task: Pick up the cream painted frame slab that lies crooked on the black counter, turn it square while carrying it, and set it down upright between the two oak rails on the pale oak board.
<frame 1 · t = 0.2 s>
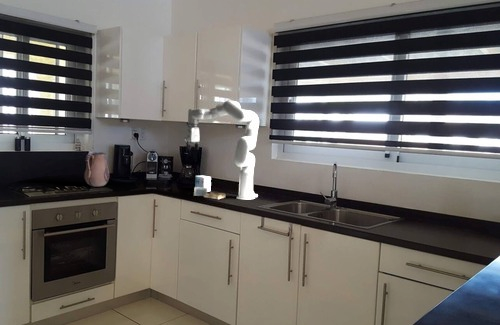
hand: (192, 149, 299), 31 cm above the worktop, tool pointing down, fingers open, 9 cm apart
oak board: (214, 197, 282), on the worktop
light bulb box: (202, 190, 307), on the worktop
ceramic pitcher: (95, 186, 308), on the worktop
frame slab: (200, 195, 287), on the worktop
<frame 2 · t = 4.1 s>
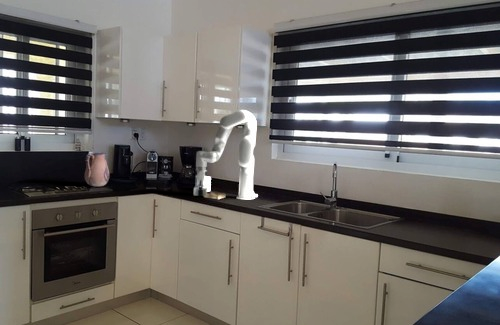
hand: (200, 194, 287), 0 cm above the worktop, tool pointing down, fingers closed on frame slab, 3 cm apart
frame slab: (200, 195, 287), on the worktop, touching gripper
everything else where it was.
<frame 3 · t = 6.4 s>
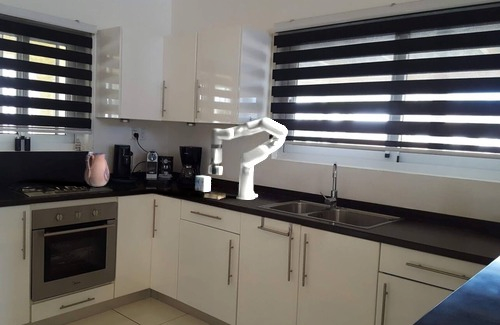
hand: (215, 173, 280), 16 cm above the worktop, tool pointing down, fingers closed on frame slab, 3 cm apart
frame slab: (215, 174, 280), point 16 cm above the worktop, touching gripper
everything else where it was.
when the fingers open (3 cm above the worktop, at t = 9.0 s): frame slab drops 1 cm, resting on oak board.
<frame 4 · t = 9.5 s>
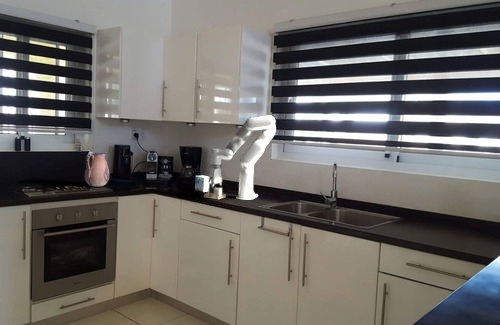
hand: (215, 191, 281), 4 cm above the worktop, tool pointing down, fingers open, 8 cm apart
frame slab: (214, 195, 282), point 1 cm above the worktop, touching oak board
everything else where it was.
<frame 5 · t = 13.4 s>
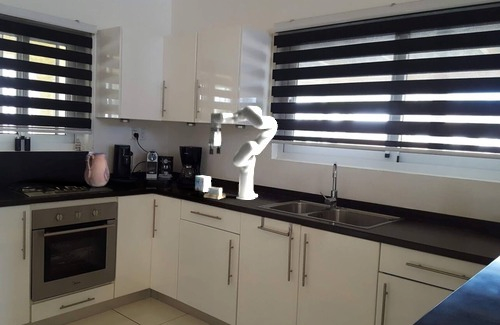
hand: (215, 154, 296), 28 cm above the worktop, tool pointing down, fingers open, 9 cm apart
nothing on the worktop moved.
at the end: frame slab 0.3 cm off-centre on the oak board, point 1.2 cm above the oak board's base; frame slab tilted 0°; the gripper is holding nothing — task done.
